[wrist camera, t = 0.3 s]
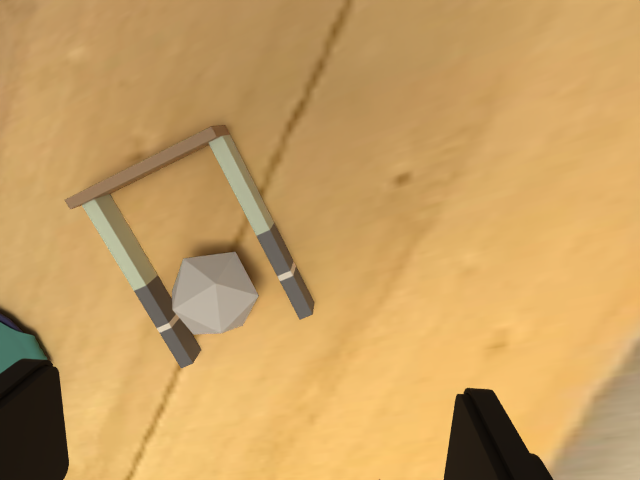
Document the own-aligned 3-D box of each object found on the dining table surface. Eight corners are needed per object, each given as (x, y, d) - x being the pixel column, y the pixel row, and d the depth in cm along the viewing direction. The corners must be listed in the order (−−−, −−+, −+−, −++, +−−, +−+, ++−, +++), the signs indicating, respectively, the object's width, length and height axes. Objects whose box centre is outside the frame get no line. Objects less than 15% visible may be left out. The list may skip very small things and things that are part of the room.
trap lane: (92, 191, 47) (64, 199, 42) (225, 125, 44) (211, 126, 39) (190, 354, 51) (174, 378, 46) (314, 302, 49) (311, 323, 44)
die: (173, 288, 50) (180, 364, 44) (163, 235, 44) (170, 314, 38) (245, 277, 52) (262, 348, 46) (246, 225, 46) (265, 299, 40)
